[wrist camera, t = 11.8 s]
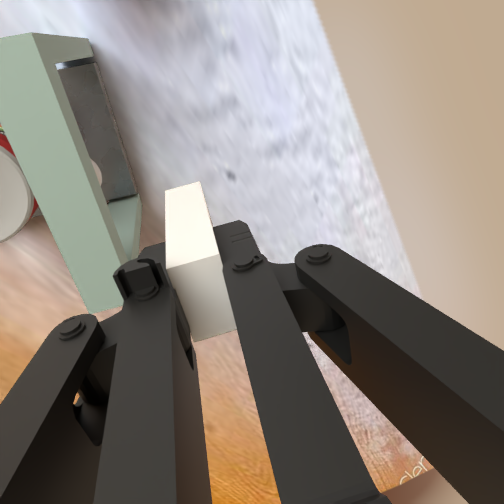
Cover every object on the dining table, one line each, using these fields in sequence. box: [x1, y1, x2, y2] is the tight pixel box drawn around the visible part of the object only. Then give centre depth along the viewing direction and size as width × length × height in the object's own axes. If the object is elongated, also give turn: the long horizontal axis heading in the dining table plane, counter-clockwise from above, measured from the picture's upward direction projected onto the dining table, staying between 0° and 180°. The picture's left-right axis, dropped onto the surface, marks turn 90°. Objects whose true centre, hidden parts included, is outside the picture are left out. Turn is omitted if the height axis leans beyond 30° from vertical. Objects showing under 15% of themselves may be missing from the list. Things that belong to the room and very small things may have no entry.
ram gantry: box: [0, 33, 142, 314], centre depth 30 cm, size 3×16×18 cm, turn 10°
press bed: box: [32, 62, 137, 217], centre depth 36 cm, size 20×12×2 cm, turn 100°
